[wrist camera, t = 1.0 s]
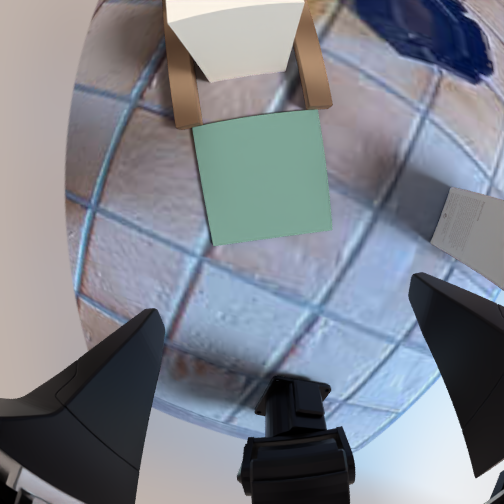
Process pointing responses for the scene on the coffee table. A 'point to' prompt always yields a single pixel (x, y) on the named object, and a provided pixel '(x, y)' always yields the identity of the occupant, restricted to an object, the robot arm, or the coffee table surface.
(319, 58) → the brown wooden frame
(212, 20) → the cream block
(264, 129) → the green mat
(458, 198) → the small box
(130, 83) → the coffee table surface
